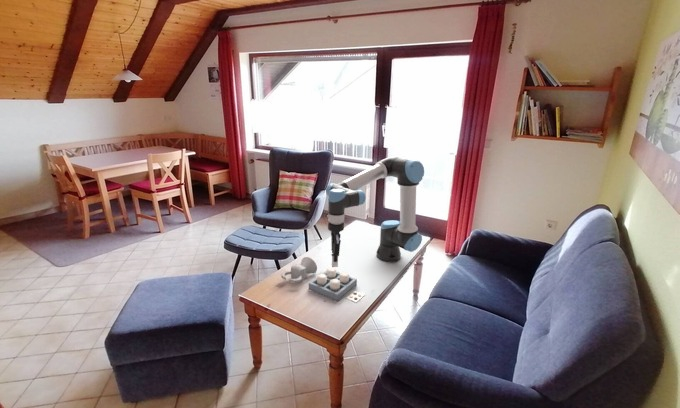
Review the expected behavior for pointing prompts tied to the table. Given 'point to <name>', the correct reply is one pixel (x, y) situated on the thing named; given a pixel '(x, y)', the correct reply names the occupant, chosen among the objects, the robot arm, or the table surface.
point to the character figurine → (301, 270)
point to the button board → (329, 293)
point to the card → (355, 296)
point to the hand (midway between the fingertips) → (334, 266)
